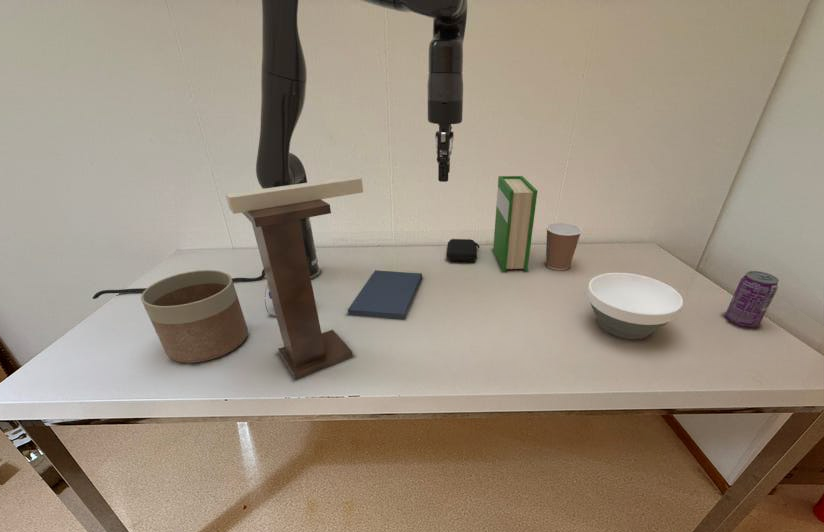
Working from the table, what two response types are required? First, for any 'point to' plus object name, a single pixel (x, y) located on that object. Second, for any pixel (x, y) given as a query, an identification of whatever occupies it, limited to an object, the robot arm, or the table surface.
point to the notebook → (386, 295)
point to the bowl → (632, 304)
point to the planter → (196, 315)
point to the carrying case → (462, 250)
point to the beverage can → (752, 298)
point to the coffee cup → (561, 244)
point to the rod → (293, 194)
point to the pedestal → (295, 287)
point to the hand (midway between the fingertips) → (444, 176)
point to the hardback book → (514, 222)
